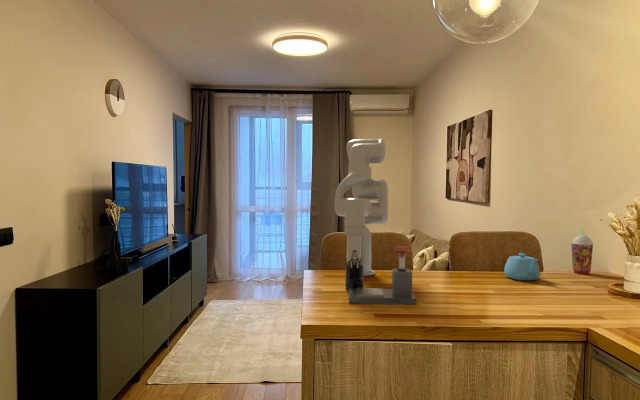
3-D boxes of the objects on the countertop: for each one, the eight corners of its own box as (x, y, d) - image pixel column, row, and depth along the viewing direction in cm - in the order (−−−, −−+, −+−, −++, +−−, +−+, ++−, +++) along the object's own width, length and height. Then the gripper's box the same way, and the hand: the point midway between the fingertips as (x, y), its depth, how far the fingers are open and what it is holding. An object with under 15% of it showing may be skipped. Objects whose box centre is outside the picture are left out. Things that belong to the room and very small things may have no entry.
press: (348, 294, 152) (349, 266, 152) (411, 295, 150) (411, 267, 150) (348, 303, 140) (348, 273, 140) (416, 304, 138) (416, 274, 138)
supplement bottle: (362, 291, 156) (362, 259, 155) (344, 290, 157) (344, 258, 157) (364, 287, 162) (364, 256, 162) (346, 286, 164) (346, 255, 163)
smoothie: (567, 271, 194) (568, 227, 194) (586, 271, 193) (587, 228, 193) (575, 275, 186) (576, 229, 186) (596, 275, 185) (597, 229, 184)
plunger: (393, 278, 147) (393, 245, 147) (408, 279, 147) (408, 246, 146) (395, 282, 142) (395, 248, 142) (410, 282, 142) (410, 248, 141)
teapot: (524, 257, 167) (497, 251, 185) (524, 284, 168) (497, 275, 185) (552, 256, 170) (523, 250, 187) (552, 283, 170) (522, 274, 188)
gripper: (344, 229, 168) (344, 272, 168) (344, 232, 151) (343, 280, 151) (363, 229, 167) (363, 272, 167) (365, 233, 150) (365, 281, 150)
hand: (354, 276), depth 159 cm, fingers open, 9 cm apart
